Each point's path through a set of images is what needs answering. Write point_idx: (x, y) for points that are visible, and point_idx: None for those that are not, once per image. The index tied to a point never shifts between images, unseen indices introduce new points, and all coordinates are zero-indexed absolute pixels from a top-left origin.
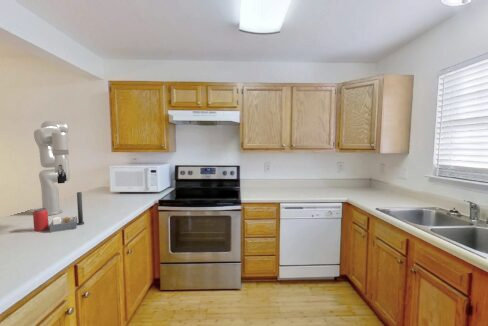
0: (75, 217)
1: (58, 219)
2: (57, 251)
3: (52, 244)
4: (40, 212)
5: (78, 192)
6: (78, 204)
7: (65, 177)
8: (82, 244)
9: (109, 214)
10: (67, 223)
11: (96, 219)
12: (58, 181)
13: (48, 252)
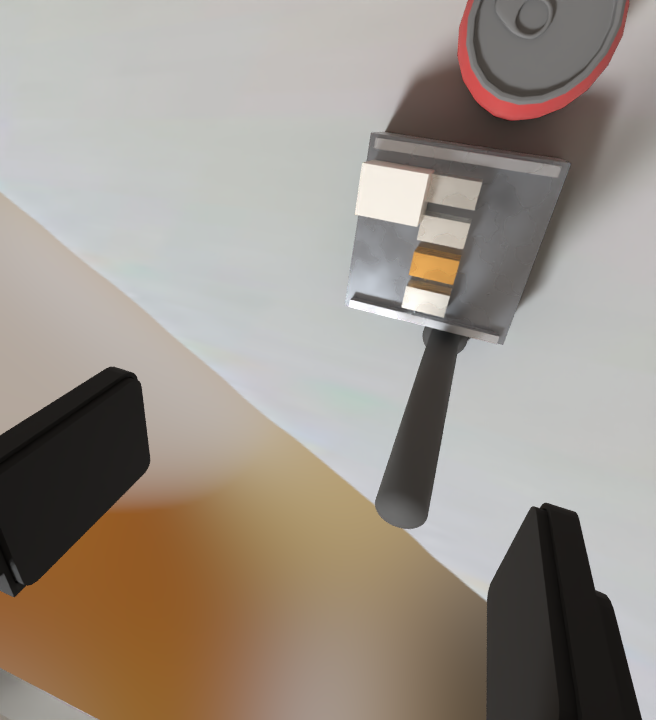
0: (451, 328)
1: (358, 204)
2: (44, 158)
3: (138, 139)
4: (463, 33)
5: (405, 504)
6: (410, 405)
7: (490, 688)
8: (90, 261)
9: None
10: (353, 254)
11: (490, 432)
12: (82, 397)
13: (43, 119)
